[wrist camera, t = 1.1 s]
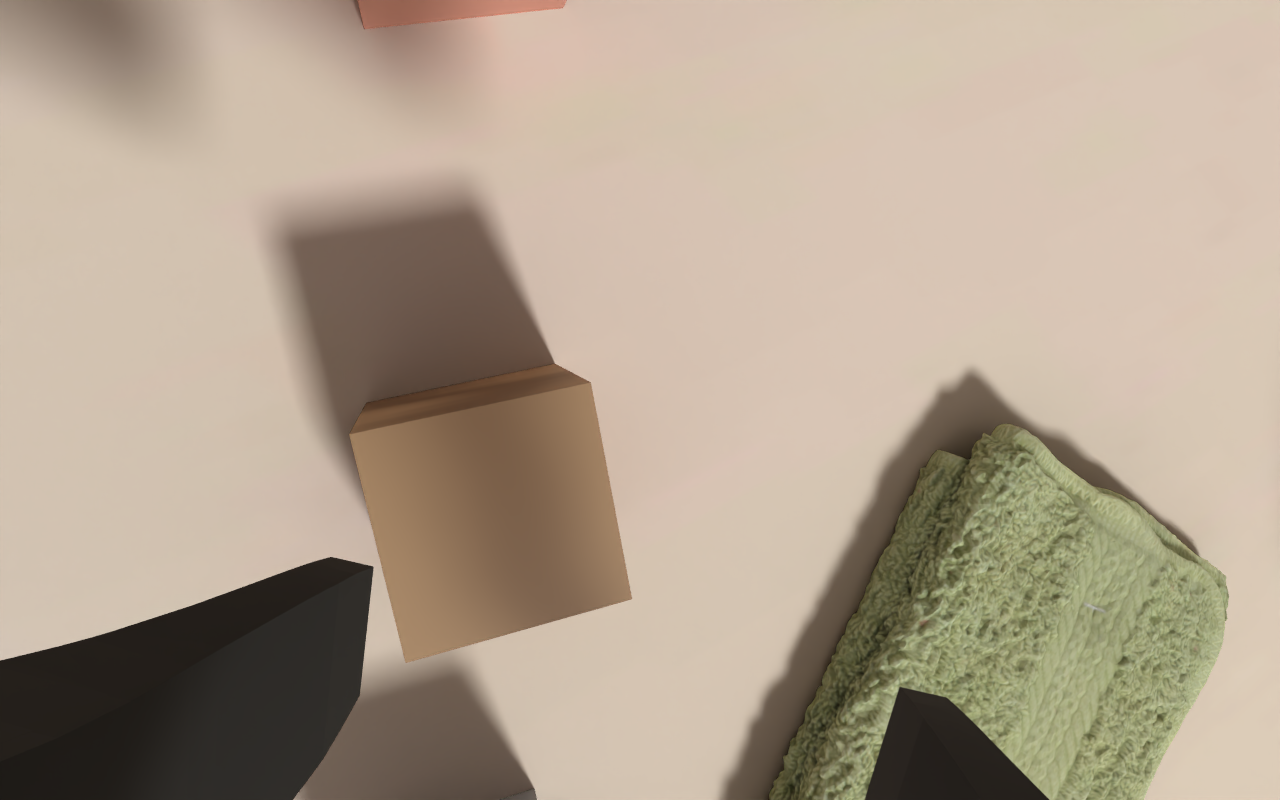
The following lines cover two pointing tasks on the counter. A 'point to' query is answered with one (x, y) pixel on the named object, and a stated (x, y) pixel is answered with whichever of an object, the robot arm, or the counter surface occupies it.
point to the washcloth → (1020, 629)
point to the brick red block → (443, 10)
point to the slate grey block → (523, 796)
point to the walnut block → (490, 507)
